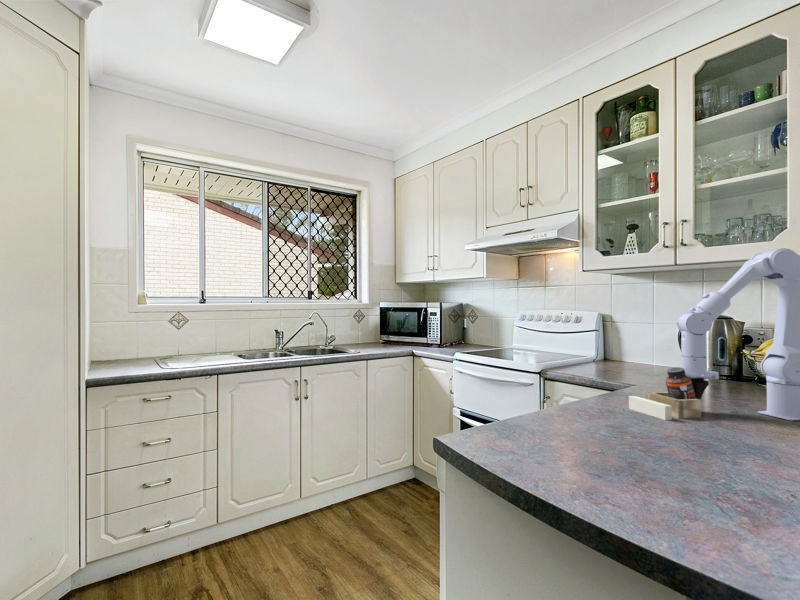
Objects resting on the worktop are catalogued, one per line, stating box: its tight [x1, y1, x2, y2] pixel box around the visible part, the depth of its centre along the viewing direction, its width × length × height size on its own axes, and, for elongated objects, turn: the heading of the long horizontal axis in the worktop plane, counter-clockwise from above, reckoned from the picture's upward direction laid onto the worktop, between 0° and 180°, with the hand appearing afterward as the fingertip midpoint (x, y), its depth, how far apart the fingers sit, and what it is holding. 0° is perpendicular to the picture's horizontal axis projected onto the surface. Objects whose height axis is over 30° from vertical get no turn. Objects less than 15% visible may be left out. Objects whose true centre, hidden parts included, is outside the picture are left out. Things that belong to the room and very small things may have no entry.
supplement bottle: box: [665, 366, 696, 400], centre depth 112 cm, size 6×6×11 cm
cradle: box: [645, 391, 702, 419], centre depth 111 cm, size 7×10×4 cm
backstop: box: [628, 395, 673, 421], centre depth 110 cm, size 2×12×4 cm, turn 13°
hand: (694, 405), depth 113 cm, fingers closed, pressing on supplement bottle
